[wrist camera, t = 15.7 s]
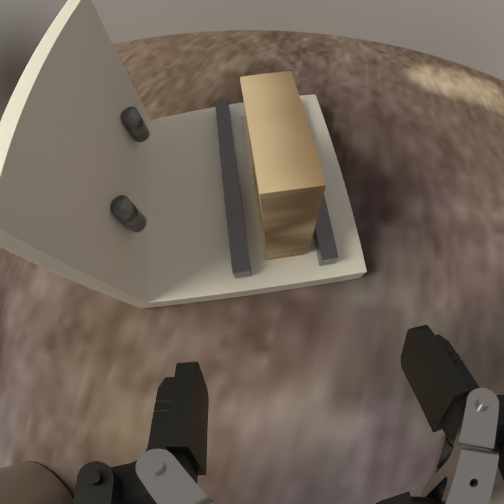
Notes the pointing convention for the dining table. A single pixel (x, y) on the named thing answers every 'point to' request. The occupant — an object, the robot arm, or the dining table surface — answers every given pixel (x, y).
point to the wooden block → (282, 162)
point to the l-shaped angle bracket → (147, 184)
